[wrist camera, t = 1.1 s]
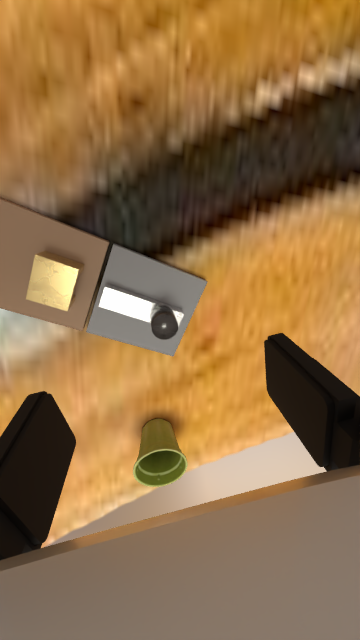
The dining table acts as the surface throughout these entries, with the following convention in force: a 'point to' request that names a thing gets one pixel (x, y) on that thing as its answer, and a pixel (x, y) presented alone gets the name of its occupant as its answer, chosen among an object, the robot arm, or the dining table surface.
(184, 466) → the plant pot
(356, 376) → the dining table surface
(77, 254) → the lock base
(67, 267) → the block
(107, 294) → the bolt
